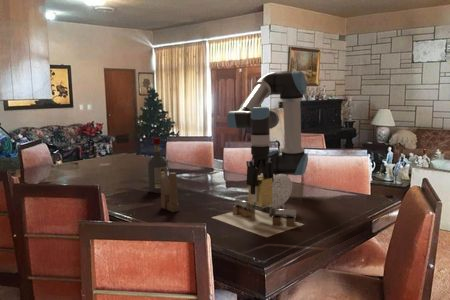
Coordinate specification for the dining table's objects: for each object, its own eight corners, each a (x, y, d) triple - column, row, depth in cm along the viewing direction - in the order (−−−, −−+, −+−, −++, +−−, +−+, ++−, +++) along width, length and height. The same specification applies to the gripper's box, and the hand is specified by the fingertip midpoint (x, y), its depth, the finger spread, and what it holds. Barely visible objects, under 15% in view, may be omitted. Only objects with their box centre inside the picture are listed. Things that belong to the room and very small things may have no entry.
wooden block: (167, 206, 193) (166, 169, 190) (179, 211, 185) (178, 173, 182) (161, 207, 190) (159, 170, 188) (172, 212, 182) (171, 174, 180)
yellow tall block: (272, 204, 165) (272, 177, 163) (262, 206, 161) (261, 179, 159) (258, 200, 171) (258, 175, 169) (248, 203, 167) (248, 177, 165)
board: (248, 209, 186) (248, 207, 185) (304, 226, 160) (304, 224, 160) (211, 219, 172) (211, 217, 172) (266, 239, 146) (266, 237, 146)
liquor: (147, 191, 224) (144, 138, 220) (160, 188, 231) (158, 137, 227) (157, 193, 218) (155, 139, 214) (170, 190, 225) (168, 138, 221)
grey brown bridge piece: (269, 225, 160) (269, 208, 159) (270, 221, 165) (270, 205, 164) (295, 227, 157) (295, 210, 156) (296, 223, 162) (296, 206, 161)
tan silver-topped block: (232, 213, 177) (232, 198, 176) (240, 211, 180) (240, 196, 179) (247, 218, 169) (246, 202, 169) (255, 215, 173) (255, 200, 172)
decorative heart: (297, 210, 183) (297, 173, 181) (284, 215, 175) (284, 177, 173) (265, 203, 195) (265, 169, 193) (252, 208, 187) (251, 172, 185)
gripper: (269, 142, 171) (269, 194, 174) (236, 146, 159) (237, 202, 162) (282, 143, 166) (282, 198, 169) (249, 148, 154) (249, 206, 157)
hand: (260, 200), depth 166 cm, fingers closed on yellow tall block, 6 cm apart
